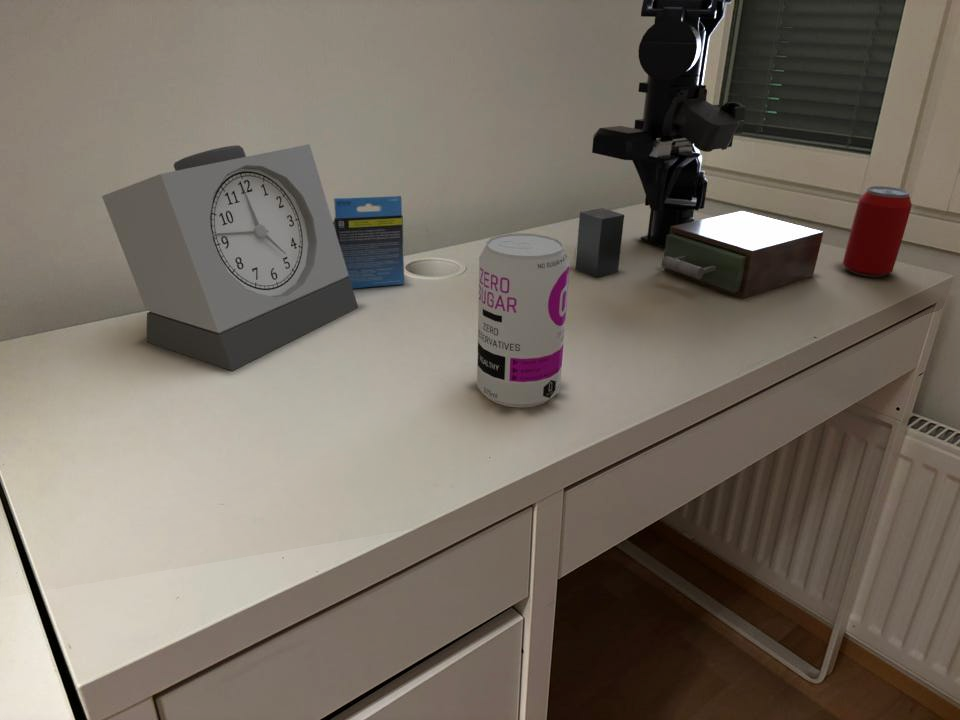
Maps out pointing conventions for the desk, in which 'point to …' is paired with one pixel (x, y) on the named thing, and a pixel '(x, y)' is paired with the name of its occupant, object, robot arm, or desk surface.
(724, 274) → the rack drawer
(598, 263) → the steel block
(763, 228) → the cabinet
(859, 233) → the beverage can
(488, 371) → the supplement can
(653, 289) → the desk surface
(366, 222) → the label tape box
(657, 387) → the desk surface
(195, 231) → the alarm clock
